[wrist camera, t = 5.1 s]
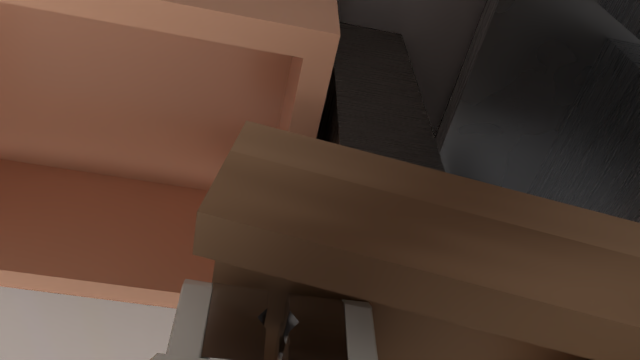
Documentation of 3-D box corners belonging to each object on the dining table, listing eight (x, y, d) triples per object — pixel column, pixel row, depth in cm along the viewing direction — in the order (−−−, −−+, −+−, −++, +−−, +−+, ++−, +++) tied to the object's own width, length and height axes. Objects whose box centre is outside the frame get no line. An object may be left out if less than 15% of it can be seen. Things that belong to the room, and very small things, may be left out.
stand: (813, -38, 15) (1377, 197, 7) (584, 300, 23) (734, 602, 15) (366, -142, 14) (447, 8, 6) (277, 257, 21) (257, 567, 13)
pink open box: (332, -41, 15) (340, 34, 11) (280, 204, 20) (273, 320, 16) (-92, -129, 14) (-259, -81, 10) (-39, 156, 18) (-137, 268, 14)
